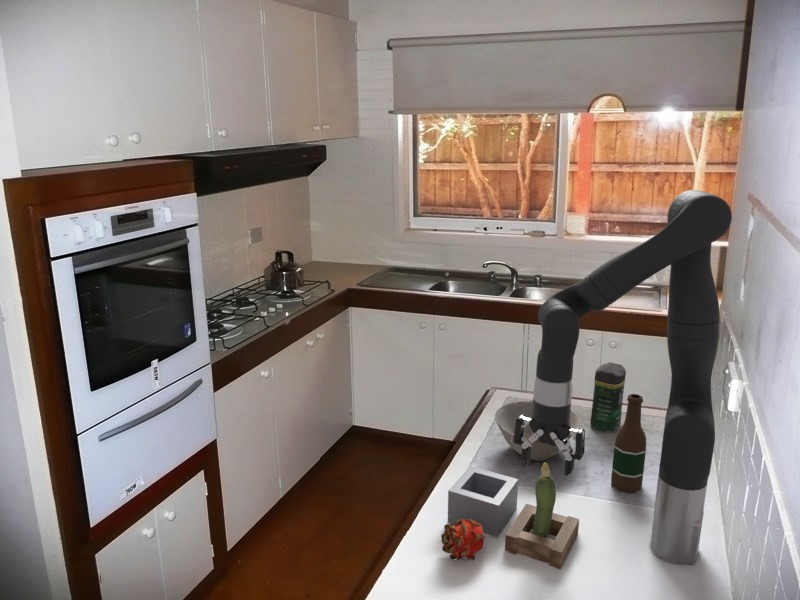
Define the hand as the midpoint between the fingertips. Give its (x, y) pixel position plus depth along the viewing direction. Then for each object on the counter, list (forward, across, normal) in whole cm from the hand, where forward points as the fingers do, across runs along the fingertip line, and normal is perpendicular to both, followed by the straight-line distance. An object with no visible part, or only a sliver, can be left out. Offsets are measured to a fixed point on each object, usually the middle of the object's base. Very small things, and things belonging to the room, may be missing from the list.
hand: (546, 468), depth 141 cm
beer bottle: (+18, -11, -32) cm, 38 cm away
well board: (+18, 0, 0) cm, 18 cm away
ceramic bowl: (+18, +14, -37) cm, 43 cm away
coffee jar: (+18, +1, -62) cm, 64 cm away
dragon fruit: (+18, +13, +11) cm, 25 cm away
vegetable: (+18, 0, 0) cm, 18 cm away
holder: (+18, +15, -3) cm, 23 cm away
